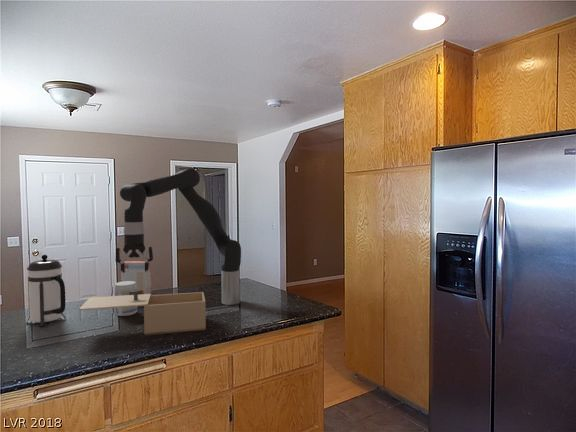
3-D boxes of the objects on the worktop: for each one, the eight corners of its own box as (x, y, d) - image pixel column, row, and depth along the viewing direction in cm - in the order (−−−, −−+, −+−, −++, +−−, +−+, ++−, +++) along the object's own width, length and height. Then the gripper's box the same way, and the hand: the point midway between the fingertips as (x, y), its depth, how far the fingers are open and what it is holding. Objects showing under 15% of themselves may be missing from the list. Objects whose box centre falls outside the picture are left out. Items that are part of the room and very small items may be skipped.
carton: (203, 317, 170) (203, 291, 169) (205, 329, 155) (205, 301, 154) (148, 322, 163) (147, 295, 163) (144, 335, 148) (144, 305, 147)
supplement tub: (140, 310, 180) (140, 280, 179) (131, 317, 171) (130, 285, 170) (121, 310, 181) (121, 280, 180) (111, 316, 171) (110, 285, 170)
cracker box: (151, 299, 201) (151, 260, 200) (146, 302, 195) (145, 262, 194) (127, 298, 202) (126, 260, 201) (121, 301, 196) (120, 262, 195)
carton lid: (150, 295, 163) (150, 285, 163) (147, 305, 148) (147, 295, 147) (89, 299, 157) (89, 289, 156) (79, 310, 141) (78, 299, 141)
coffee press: (18, 330, 153) (16, 258, 152) (33, 318, 169) (31, 252, 167) (65, 326, 158) (63, 256, 156) (76, 314, 173) (74, 251, 172)
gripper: (153, 231, 158) (153, 269, 159) (116, 232, 154) (117, 271, 155) (151, 233, 151) (152, 272, 152) (113, 234, 147) (114, 274, 148)
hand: (134, 271), depth 153 cm, fingers open, 8 cm apart
